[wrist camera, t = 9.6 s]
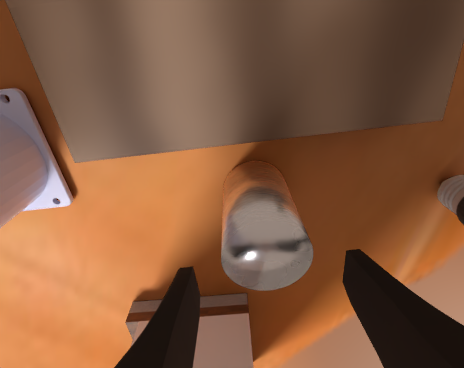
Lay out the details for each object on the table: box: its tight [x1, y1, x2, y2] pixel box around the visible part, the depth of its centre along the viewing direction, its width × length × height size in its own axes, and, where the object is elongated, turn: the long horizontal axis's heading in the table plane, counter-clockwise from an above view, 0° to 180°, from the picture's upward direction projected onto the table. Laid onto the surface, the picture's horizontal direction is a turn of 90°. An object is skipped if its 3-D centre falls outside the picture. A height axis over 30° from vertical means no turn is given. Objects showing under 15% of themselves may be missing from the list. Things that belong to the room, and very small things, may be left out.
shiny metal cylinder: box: [221, 161, 313, 291], centre depth 16 cm, size 4×4×7 cm
